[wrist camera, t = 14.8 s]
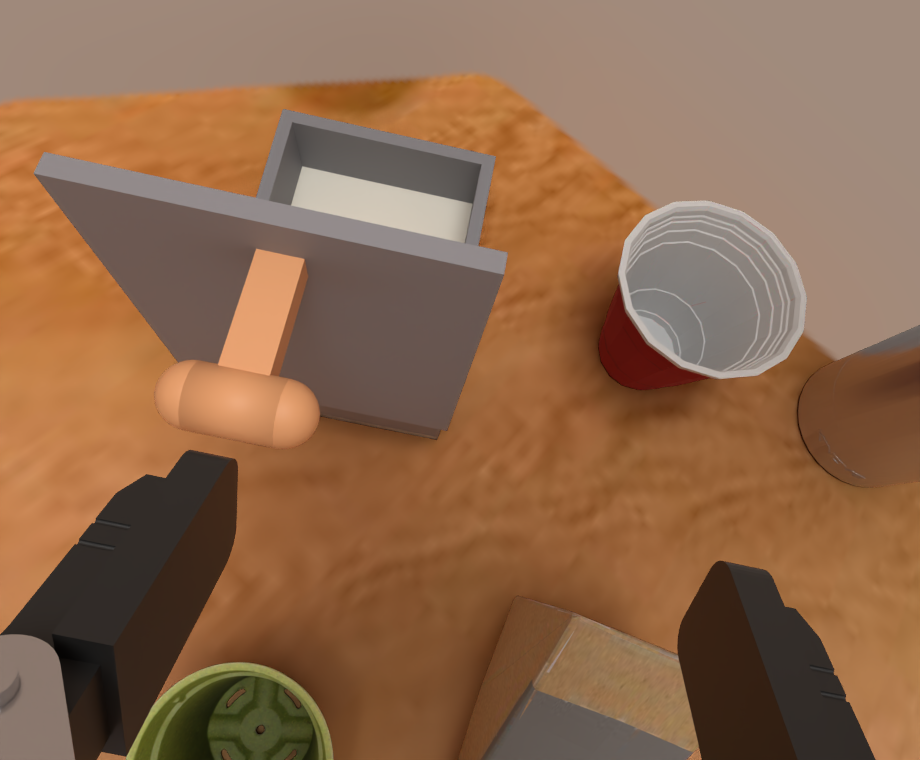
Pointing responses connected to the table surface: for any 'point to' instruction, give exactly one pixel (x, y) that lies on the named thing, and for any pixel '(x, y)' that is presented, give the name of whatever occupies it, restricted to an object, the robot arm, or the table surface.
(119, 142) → the table surface
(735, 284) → the plastic cup
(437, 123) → the table surface
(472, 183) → the carton
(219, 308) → the carton lid
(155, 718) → the plant pot
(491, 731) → the sandwich container
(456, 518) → the table surface
